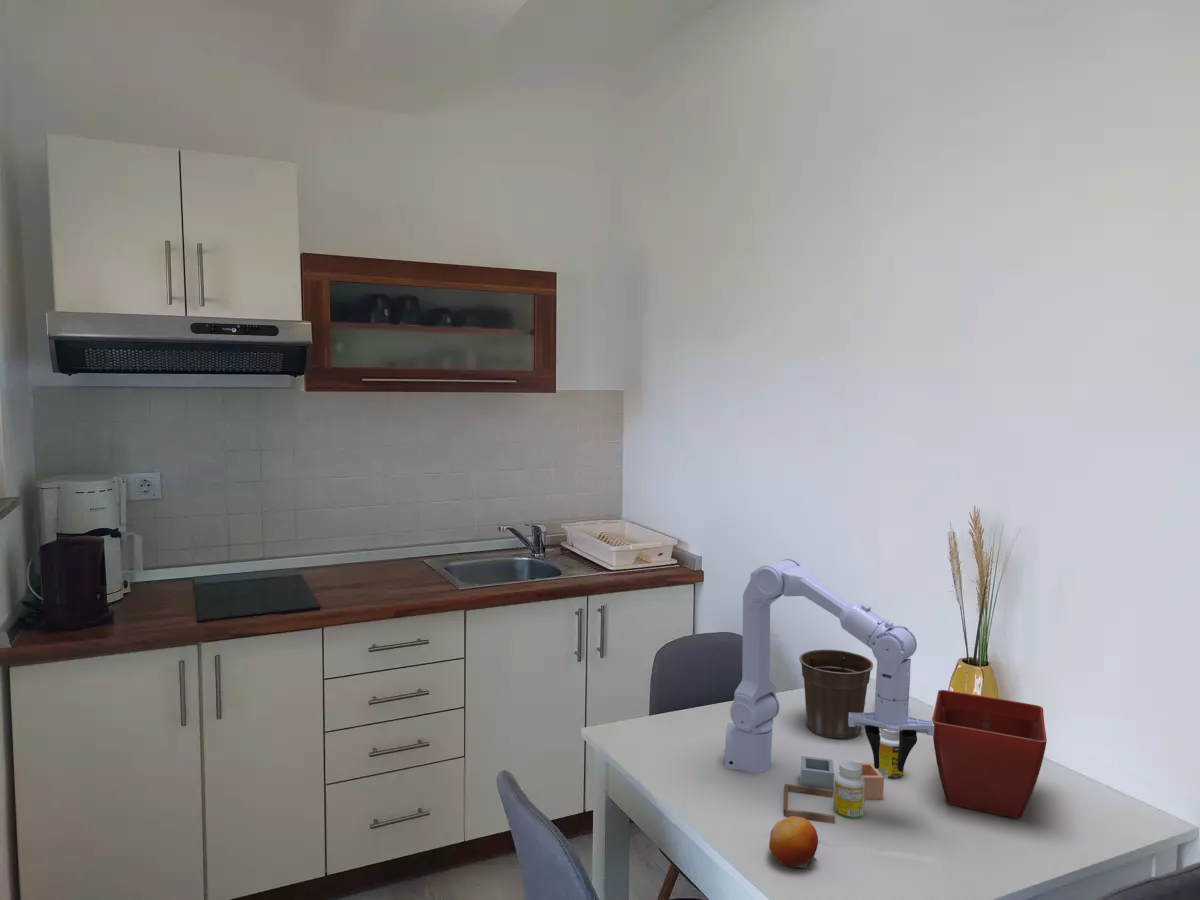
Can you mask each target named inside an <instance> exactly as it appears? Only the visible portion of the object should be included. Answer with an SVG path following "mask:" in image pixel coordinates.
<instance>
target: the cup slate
mask: <svg viewBox="0 0 1200 900" xmlns="http://www.w3.org/2000/svg"><path fill="white" fill-rule="evenodd" d="M800 759H801V760H800V785H801V786H808V787H816V788H824V789H832V791H833V792H832V796H834V787H835V771H834V761H833V759H830V758H822V757H814V756H813V757H812V756H807V755H806V756H804V755H801V757H800Z"/></svg>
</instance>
